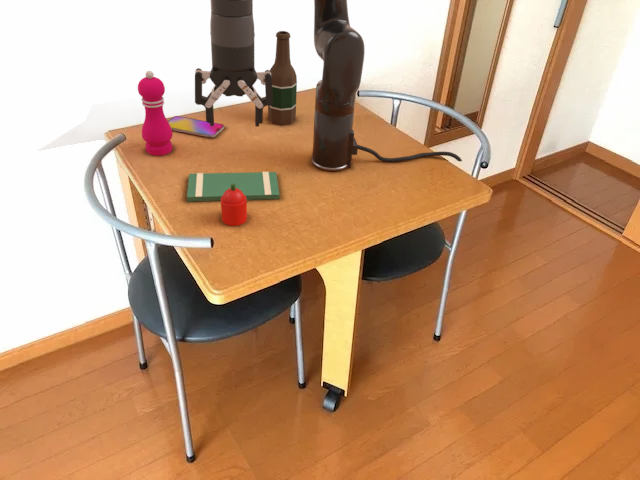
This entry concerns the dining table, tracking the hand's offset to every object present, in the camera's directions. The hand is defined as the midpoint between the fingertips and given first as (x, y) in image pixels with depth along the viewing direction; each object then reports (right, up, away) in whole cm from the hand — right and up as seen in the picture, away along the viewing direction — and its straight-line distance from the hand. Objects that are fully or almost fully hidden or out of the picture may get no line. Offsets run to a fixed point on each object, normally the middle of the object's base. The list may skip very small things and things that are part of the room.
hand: (234, 124), depth 106 cm
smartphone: (-17, +8, +42) cm, 46 cm away
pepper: (-2, -18, +10) cm, 20 cm away
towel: (-3, -10, +19) cm, 22 cm away
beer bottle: (+6, +12, +50) cm, 51 cm away
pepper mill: (-24, 0, +32) cm, 40 cm away
